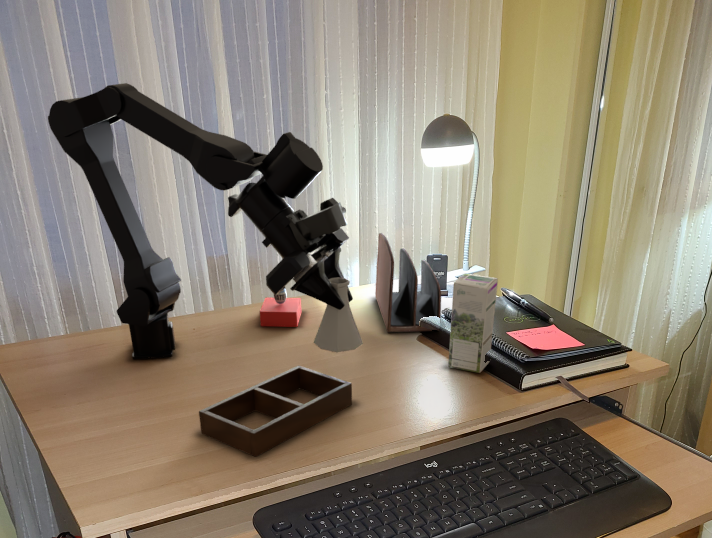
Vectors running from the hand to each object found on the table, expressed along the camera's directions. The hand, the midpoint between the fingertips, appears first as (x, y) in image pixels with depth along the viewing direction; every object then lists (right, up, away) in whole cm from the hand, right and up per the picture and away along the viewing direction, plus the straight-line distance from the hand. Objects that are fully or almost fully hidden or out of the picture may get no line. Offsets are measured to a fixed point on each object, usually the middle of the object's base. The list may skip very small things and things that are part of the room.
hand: (346, 304), depth 115 cm
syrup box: (+20, -7, +14) cm, 25 cm away
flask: (-1, -5, +4) cm, 7 cm away
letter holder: (+10, +7, +34) cm, 37 cm away
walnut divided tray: (-10, -17, -4) cm, 20 cm away
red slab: (-14, +5, +31) cm, 34 cm away
